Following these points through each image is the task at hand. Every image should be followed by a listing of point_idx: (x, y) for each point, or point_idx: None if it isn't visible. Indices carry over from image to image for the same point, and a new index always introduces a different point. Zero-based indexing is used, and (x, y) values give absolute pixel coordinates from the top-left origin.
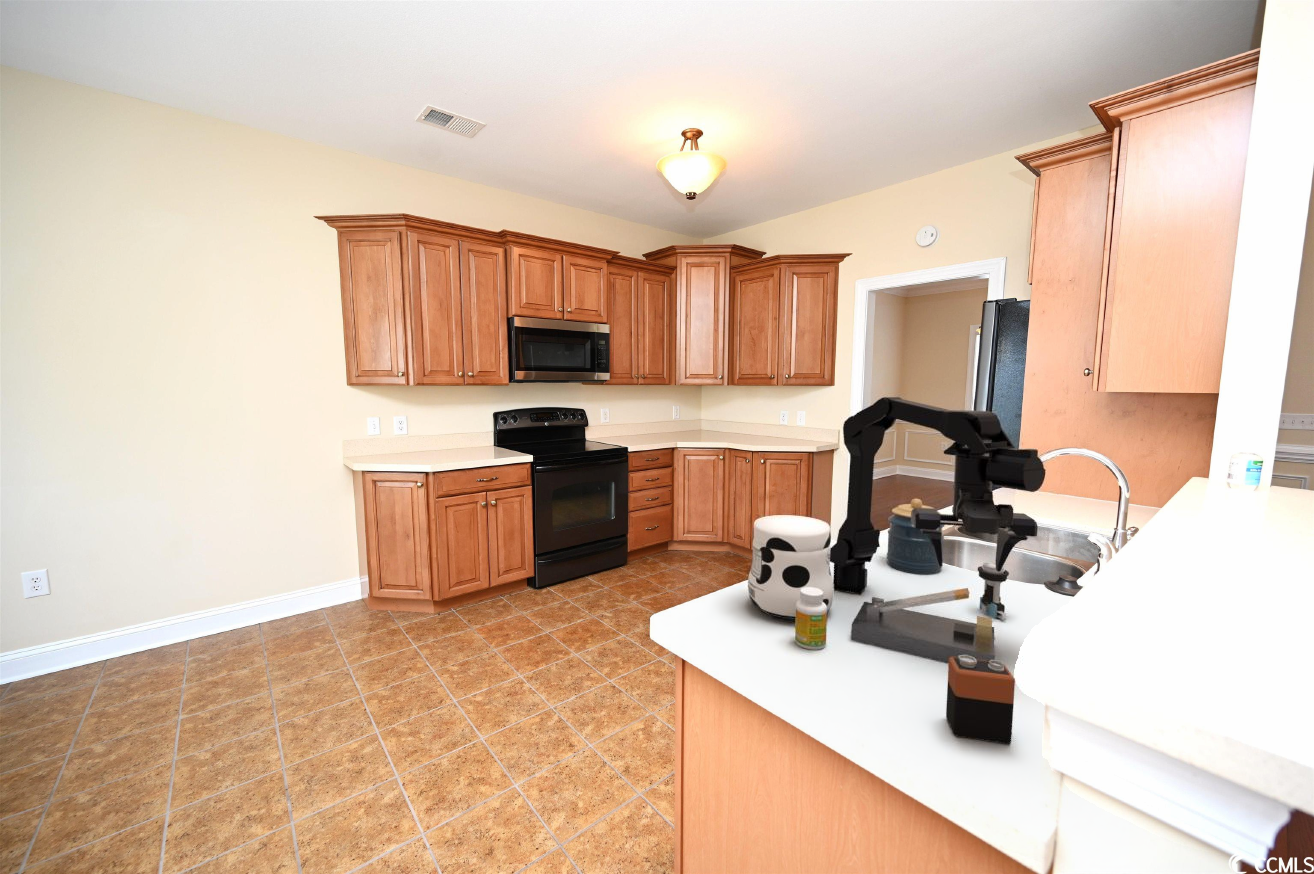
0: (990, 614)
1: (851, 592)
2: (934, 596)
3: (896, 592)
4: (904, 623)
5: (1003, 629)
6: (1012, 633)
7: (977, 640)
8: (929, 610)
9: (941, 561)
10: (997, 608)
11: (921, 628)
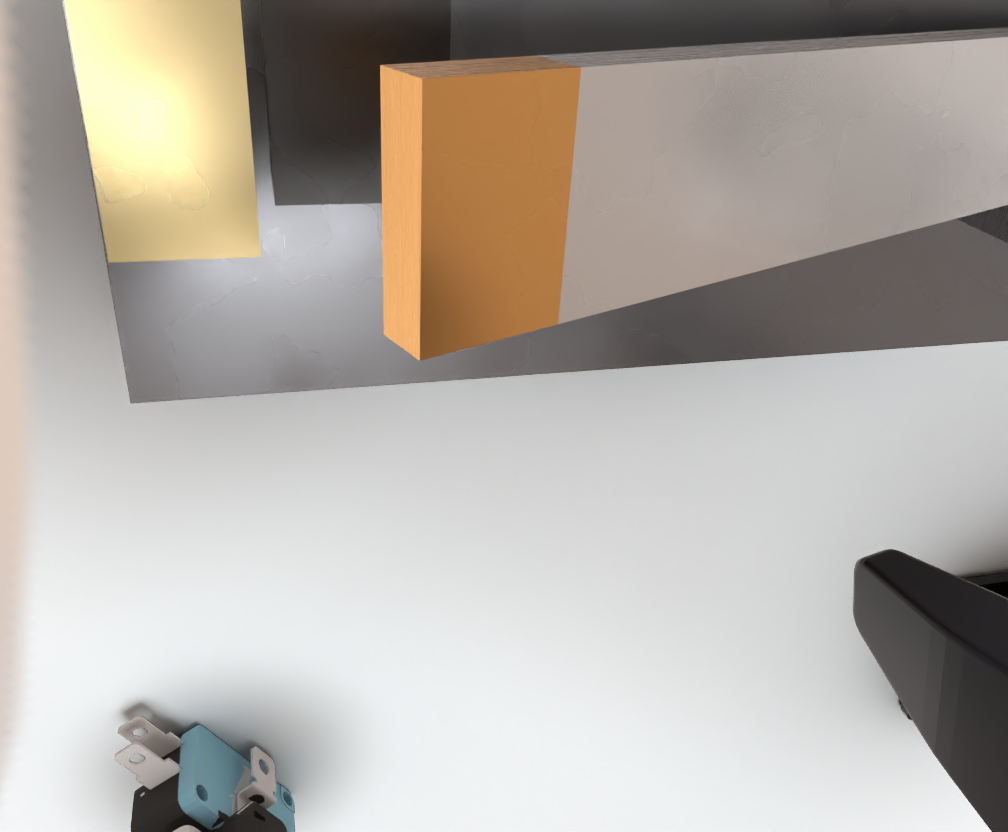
0: (220, 748)
1: (996, 575)
2: (762, 154)
3: (743, 727)
4: None
5: (114, 603)
6: (48, 577)
7: None
8: (572, 608)
9: (930, 606)
10: (175, 790)
11: (705, 10)
